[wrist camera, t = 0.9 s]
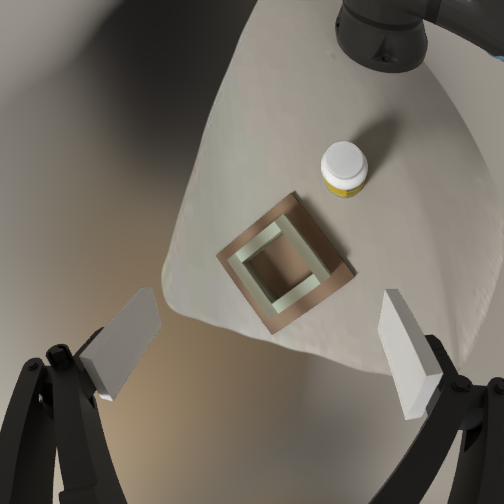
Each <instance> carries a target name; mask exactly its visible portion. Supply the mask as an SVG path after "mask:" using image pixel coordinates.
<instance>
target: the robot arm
mask: <svg viewBox="0 0 504 504" xmlns="http://www.w3.org/2000/svg"><path fill="white" fill-rule="evenodd" d="M423 19H424V20H426V21H429V22H431V23H433V24H435V25H438V26H440V27H442V28H444V29H446V30H448V31H450V32H452V33H455V34H456V35H458V36H460V37H462V38H464V39H466V40H468V41H470V42H471V43H473V44H475V45H477V46H478V47H480V48H482V49H484V50H485V51H487V53H488V54H489V55H491V56H493V57H495V58H497V59H500V60H502V61H503V62H504V0H343V4H342V6H341V9H340V11H339V14H338V17H337V19H336V23H335V31H336V37H337V41H338V44H339V46H340V47H341V49H342V50H343V51H344V52H345V54H346V55H348V56H349V57H350V58H351V59H352V60H354V61H355V62H357V63H359V64H361V65H362V66H365V67H367V68H370V69H373V70H376V71H380V72H386V73H401V72H407V71H410V70H412V69H414V68H416V67H417V66H419V65H420V64H421V63H422V61H423V60H424V57H425V54H426V51H427V45H428V41H427V36H426V33H425V29H424V24H423ZM161 327H162V324H161V320H160V316H159V313H158V308H157V305H156V300H155V296H154V292H153V288H144V287H141V289H140V290H139V291H138V292H137V293H136V294H135V295H134V296H133V297H132V298H131V299H130V300H129V301H128V302H127V303H126V305H125V306H124V307H123V308H122V309H121V310H120V311H119V312H118V313H117V314H116V315H115V316H114V318H113V319H112V320H111V321H110V322H109V323H108V324H107V325H106V326H105V327H102V328H100V329H99V330H97V331H95V332H94V334H92V336H91V337H90V339H88V340H87V341H86V343H85V344H83V346H82V347H81V348H80V349H79V350H78V351H77V352H76V354H75V355H74V356H72V354H71V352H70V350H69V347H68V346H67V345H65V344H57V345H55V346H53V347H51V348H50V349H49V350H48V351H47V352H46V357H47V359H48V361H49V363H50V364H51V366H45V365H44V363H43V361H42V359H40V358H32V359H30V360H28V361H27V362H26V363H25V364H24V366H23V368H22V370H21V373H20V375H19V378H18V381H17V383H16V386H15V388H14V391H13V394H12V397H11V399H10V402H9V405H8V408H7V411H6V415H5V418H4V421H3V424H2V428H1V431H0V504H53V478H54V467H55V457H56V448H57V450H58V457H59V463H60V469H61V475H62V480H63V485H64V491H62V492H60V493H59V501H60V504H127V501H126V499H125V496H124V494H123V491H122V489H121V486H120V483H119V480H118V478H117V475H116V472H115V469H114V466H113V463H112V460H111V457H110V453H109V450H108V447H107V443H106V440H105V436H104V432H103V429H102V425H101V420H100V417H99V412H98V408H97V403H96V399H95V397H94V395H93V394H94V393H95V391H96V390H97V391H98V393H99V395H100V397H101V398H104V399H106V400H110V401H114V399H115V398H116V396H117V395H118V393H119V391H120V390H121V388H122V387H123V385H124V383H125V382H126V380H127V379H128V377H129V376H130V374H131V373H132V371H133V369H134V368H135V366H136V365H137V363H138V362H139V360H140V358H141V357H142V356H143V354H144V353H145V351H146V350H147V348H148V346H149V345H150V343H151V342H152V340H153V339H154V337H155V336H156V334H157V333H158V331H159V330H160V328H161ZM377 331H378V333H379V336H380V339H381V342H382V345H383V348H384V351H385V354H386V357H387V360H388V363H389V366H390V369H391V372H392V375H393V378H394V381H395V385H396V388H397V391H398V395H399V398H400V401H401V405H402V409H403V412H404V416H405V420H408V419H414V418H419V417H421V416H422V414H423V413H424V411H425V409H426V410H427V414H428V417H427V419H426V420H425V422H424V424H423V425H422V427H421V429H420V431H419V433H418V434H417V436H416V438H415V439H414V441H413V443H412V444H411V446H410V447H409V449H408V450H407V452H406V454H405V455H404V457H403V458H402V460H401V461H400V463H399V464H398V465H397V467H396V468H395V470H394V471H393V473H392V474H391V475H390V477H389V478H388V479H387V481H386V482H385V483H384V485H383V486H382V487H381V489H380V490H379V491H378V492H377V494H376V495H375V496H374V497H373V498H372V500H371V501H370V502H369V503H368V504H419V503H420V501H421V500H422V498H423V497H424V495H425V493H426V492H427V490H428V488H429V487H430V485H431V483H432V482H433V480H434V478H435V476H436V475H437V473H438V471H439V469H440V467H441V465H442V463H443V461H444V459H445V457H446V456H447V453H448V451H449V449H450V447H451V445H452V443H453V441H454V439H455V436H456V434H457V432H458V430H463V433H462V440H461V446H460V452H459V458H458V463H457V468H456V472H455V477H454V481H453V485H452V489H451V492H450V496H449V499H448V504H504V379H503V378H500V377H495V378H493V379H491V381H490V382H489V383H488V385H487V386H479V385H472V382H471V381H470V380H469V379H468V378H467V377H465V376H462V375H459V374H458V372H457V371H456V369H455V367H454V365H453V363H452V361H451V359H450V357H449V356H448V355H447V352H446V350H445V349H444V347H443V345H442V343H441V341H440V340H439V339H438V338H436V337H435V336H434V335H424V334H423V332H422V330H421V329H420V327H419V325H418V323H417V321H416V319H415V318H414V316H413V314H412V312H411V311H410V309H409V307H408V305H407V304H406V302H405V300H404V299H403V297H402V295H401V294H400V292H399V290H398V289H385V292H384V298H383V304H382V310H381V315H380V320H379V325H378V330H377ZM39 397H40V398H41V399H40V402H39Z"/></svg>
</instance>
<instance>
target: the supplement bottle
mask: <svg viewBox="0 0 504 504" xmlns="http://www.w3.org/2000/svg"><path fill="white" fill-rule="evenodd" d="M321 171H322V174H323V177H324V180H325V183H326V186H327V187H328V189H329V190H330V191H331V192H332V193H333V194H334V195H336V196H338V197H341V198H349V197H353V196H355V195H356V194H358V193H359V192H360V191H361V189H362V187H363V185H364V182H365V179H366V176H367V172H368V163H367V160H366V157H365V155H364V154H363V153H362V151H361V150H360V149H359V148H358V147H357V146H356V145H355V144H353V143H351V142H347V141H340V142H336V143H334V144H333V145H331V146H330V147H329V149H328V150H327V151H326V152H325V153H324V155H323V157H322V160H321Z"/></svg>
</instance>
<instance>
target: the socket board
mask: <svg viewBox="0 0 504 504" xmlns="http://www.w3.org/2000/svg"><path fill="white" fill-rule="evenodd" d="M216 257H217V258H218V260H219V261H220V263H221V264H222V265H223V267H224V268H225V270H226V271H227V273H228V274H229V276H230V277H231V278H232V280H233V281H234V283H235V284H236V285H237V287H238V288H239V290H240V291H241V293H242V294H243V295H244V297H245V298H246V300H247V301H248V302H249V304H250V305H251V307H252V308H253V309H254V311H255V312H256V314H257V315H258V316H259V318H260V319H261V320H262V322H263V323H264V325H265V326H266V327H267V329H268V330H269V331H270V333H271V334H272V335H273V334H274V333H276V332H277V331H279V330H281V329H282V328H284V327H285V326H287V325H288V324H290V323H291V322H293V321H294V320H296V319H297V318H298V317H300V316H301V315H303V314H304V313H306V312H307V311H309V310H310V309H312V308H313V307H314V306H316V305H317V304H319V303H320V302H322V301H323V300H324V299H326V298H327V297H329V296H330V295H331V294H333V293H334V292H335V291H337V290H338V289H340V288H341V287H342V286H344V285H345V284H346V283H348V282H349V281H350V280H352V279H353V278H354V277H355V276H354V275H353V274H352V272H351V271H350V269H349V268H348V267H347V265H346V264H345V263H344V261H343V260H342V258H341V257H340V256H339V254H338V253H337V252H336V250H335V249H334V248H333V246H332V245H331V244H330V242H329V241H328V240H327V238H326V237H325V236H324V234H323V233H322V232H321V230H320V229H319V228H318V227H317V225H316V224H315V223H314V221H313V220H312V219H311V217H310V216H309V215H308V214H307V212H306V211H305V210H304V209H303V207H302V206H301V205H300V204H299V202H298V201H297V200H296V199H295V197H294V196H293V195H292V194H291V193H290V194H289V195H288V196H287V197H285V198H284V199H283V200H282V201H281V202H279V203H278V204H277V205H276V206H275V207H273V208H272V209H271V210H270V211H268V212H267V213H266V214H265V215H264V216H262V217H261V218H260V219H259V220H258V221H256V222H255V223H254V224H253V225H252V226H250V227H249V228H248V229H247V230H246V231H244V232H243V233H242V234H241V235H240V236H238V237H237V238H236V239H235V240H234V241H232V242H231V243H230V244H229V245H228V246H227V247H225V248H224V249H223V250H222V251H221V252H219V253H218V254H217V255H216Z"/></svg>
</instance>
